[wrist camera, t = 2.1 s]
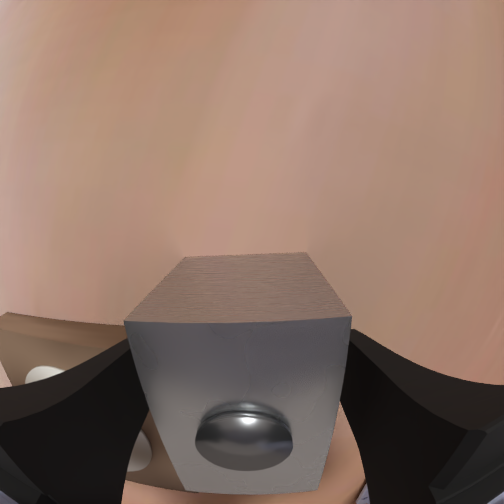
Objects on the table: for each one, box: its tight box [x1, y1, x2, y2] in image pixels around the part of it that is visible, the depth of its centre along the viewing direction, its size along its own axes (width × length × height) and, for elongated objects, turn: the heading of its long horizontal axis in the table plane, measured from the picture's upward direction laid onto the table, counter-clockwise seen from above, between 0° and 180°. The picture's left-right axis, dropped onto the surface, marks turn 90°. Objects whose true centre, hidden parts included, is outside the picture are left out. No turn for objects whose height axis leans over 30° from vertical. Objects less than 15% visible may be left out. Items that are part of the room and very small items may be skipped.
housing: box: [124, 252, 352, 495], centre depth 8 cm, size 7×4×6 cm, turn 3°
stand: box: [0, 312, 199, 493], centre depth 11 cm, size 11×11×2 cm
